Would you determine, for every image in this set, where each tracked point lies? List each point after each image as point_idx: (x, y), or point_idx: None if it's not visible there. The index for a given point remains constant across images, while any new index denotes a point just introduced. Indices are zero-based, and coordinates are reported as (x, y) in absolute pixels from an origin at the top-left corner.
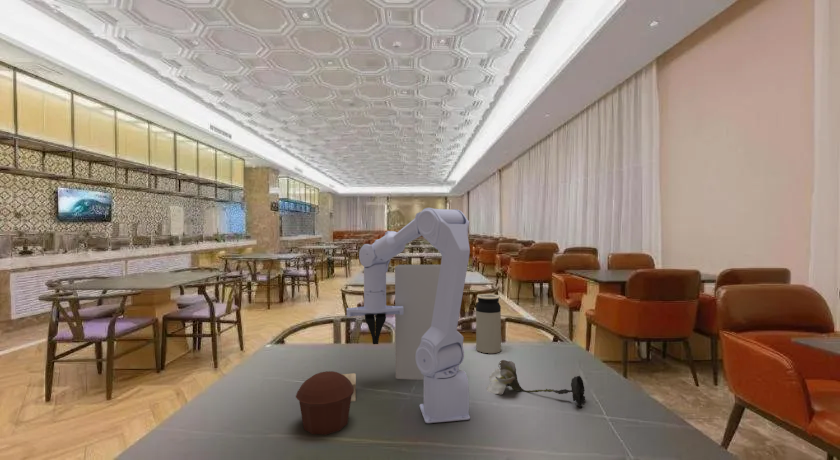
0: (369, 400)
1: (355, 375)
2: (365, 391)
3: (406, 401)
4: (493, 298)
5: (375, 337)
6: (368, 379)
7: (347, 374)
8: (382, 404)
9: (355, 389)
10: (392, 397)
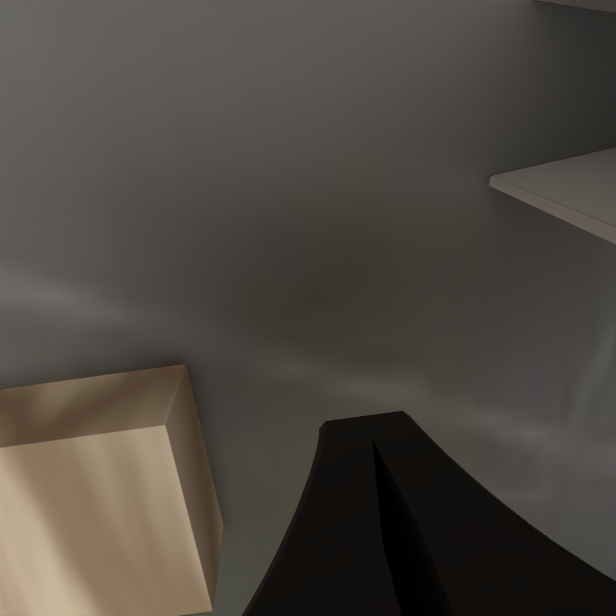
0: None
1: (175, 469)
2: (264, 405)
3: None
4: None
5: (386, 527)
6: (256, 187)
7: (98, 448)
8: None
9: (215, 580)
10: None
